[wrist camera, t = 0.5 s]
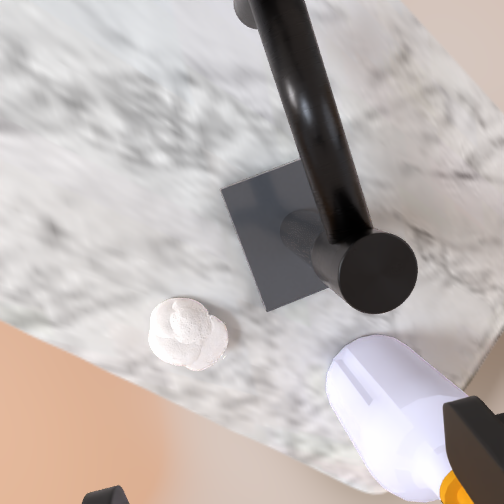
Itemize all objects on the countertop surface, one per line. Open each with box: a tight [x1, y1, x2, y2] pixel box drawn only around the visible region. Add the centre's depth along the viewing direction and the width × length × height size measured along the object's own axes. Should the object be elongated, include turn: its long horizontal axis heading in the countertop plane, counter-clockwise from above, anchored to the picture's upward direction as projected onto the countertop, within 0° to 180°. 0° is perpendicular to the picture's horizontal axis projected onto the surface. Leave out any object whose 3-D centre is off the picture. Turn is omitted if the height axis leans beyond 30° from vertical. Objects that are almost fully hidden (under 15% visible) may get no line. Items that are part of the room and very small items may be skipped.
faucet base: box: [220, 158, 329, 312], centre depth 31 cm, size 11×10×12 cm
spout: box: [233, 0, 418, 314], centre depth 22 cm, size 18×4×6 cm, turn 20°
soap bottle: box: [326, 334, 474, 504], centre depth 28 cm, size 9×9×25 cm
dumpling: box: [149, 298, 228, 371], centre depth 35 cm, size 7×5×4 cm
